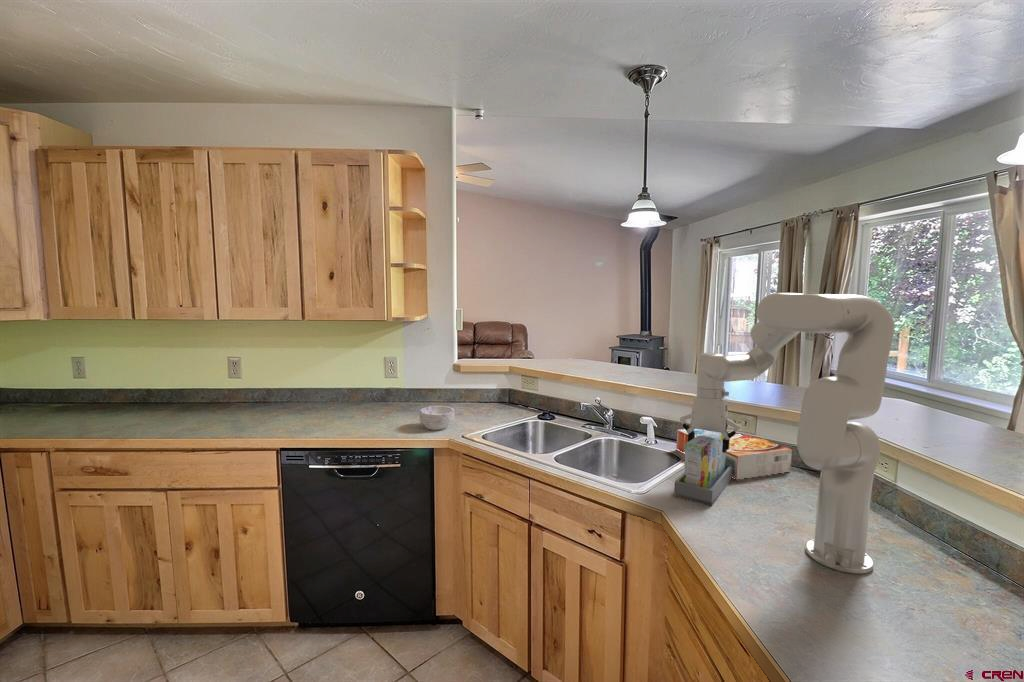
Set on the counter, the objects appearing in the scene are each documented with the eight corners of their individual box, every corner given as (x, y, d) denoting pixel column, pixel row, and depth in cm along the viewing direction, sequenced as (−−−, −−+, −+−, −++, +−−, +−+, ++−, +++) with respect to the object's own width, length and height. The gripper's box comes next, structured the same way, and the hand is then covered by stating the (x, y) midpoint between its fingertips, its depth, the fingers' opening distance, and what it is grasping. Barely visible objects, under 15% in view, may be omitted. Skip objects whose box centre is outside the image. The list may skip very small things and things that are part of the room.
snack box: (707, 471, 154) (710, 427, 152) (725, 476, 150) (728, 430, 149) (682, 491, 138) (684, 442, 137) (701, 497, 135) (703, 446, 133)
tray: (711, 506, 131) (712, 491, 130) (673, 496, 137) (674, 481, 137) (732, 478, 151) (733, 464, 151) (698, 470, 158) (699, 457, 157)
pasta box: (738, 456, 149) (677, 429, 177) (736, 480, 150) (676, 450, 178) (792, 449, 156) (725, 425, 184) (790, 472, 157) (724, 444, 185)
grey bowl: (451, 432, 197) (451, 414, 196) (416, 432, 197) (416, 413, 196) (456, 422, 212) (456, 405, 211) (423, 422, 212) (423, 405, 212)
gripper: (743, 395, 139) (741, 450, 140) (685, 388, 149) (683, 440, 151) (738, 399, 133) (735, 457, 134) (677, 391, 143) (675, 445, 145)
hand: (707, 448), depth 143 cm, fingers open, 9 cm apart
